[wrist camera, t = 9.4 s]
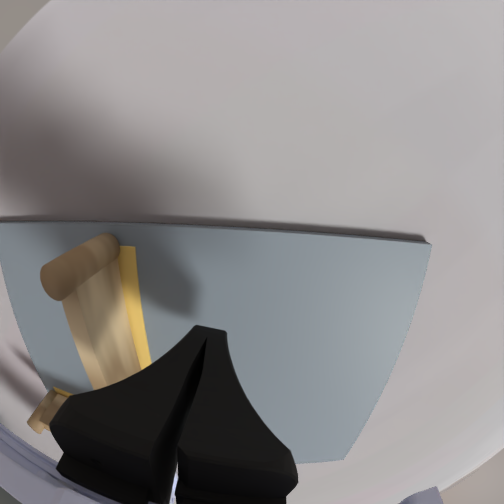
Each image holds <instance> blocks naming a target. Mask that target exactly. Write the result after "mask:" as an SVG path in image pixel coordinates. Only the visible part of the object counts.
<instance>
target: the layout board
mask: <svg viewBox="0 0 504 504" xmlns="http://www.w3.org/2000/svg"><path fill="white" fill-rule="evenodd" d="M102 233H110V234H112V235H113V236H114V237H115V238H116V239H117V240H118V242H119V246H120V253H119V256H118V264H119V271H120V277H121V283H122V289H123V294H124V300H125V305H126V310H127V314H128V319H129V324H130V328H131V332H132V336H133V340H134V344H135V348H136V352H137V356H138V359H139V363H140V367H141V370H142V369H144V368H146V367H147V366H149V365H150V364H152V363H153V362H155V361H156V360H157V359H159V358H160V357H161V356H163V355H164V354H165V353H167V352H168V351H169V350H170V349H171V348H172V347H174V346H175V345H176V344H177V343H178V342H179V341H180V340H181V339H182V338H183V337H184V336H185V335H186V334H187V333H188V332H189V331H190V330H191V329H192V327H193V326H195V325H201V326H205V327H210V328H215V329H220V330H225V331H226V332H227V341H228V348H229V352H230V356H231V360H232V363H233V366H234V369H235V372H236V375H237V377H238V380H239V382H240V384H241V386H242V388H243V390H244V392H245V394H246V396H247V398H248V400H249V401H250V403H251V405H252V406H253V408H254V409H255V411H256V412H257V413H258V415H259V416H260V418H261V419H262V420H263V422H264V423H265V424H266V425H267V427H268V428H269V429H270V430H271V431H272V432H273V434H274V435H275V436H276V437H277V438H278V439H279V440H280V441H281V442H282V443H283V444H284V445H285V446H286V447H287V448H288V449H290V450H291V453H292V455H293V458H294V461H295V464H301V463H317V462H328V461H337V460H344V458H345V457H346V455H347V454H348V452H349V451H350V449H351V448H352V446H353V444H354V443H355V441H356V439H357V438H358V436H359V434H360V433H361V431H362V429H363V428H364V426H365V424H366V422H367V421H368V419H369V417H370V415H371V413H372V411H373V409H374V408H375V406H376V404H377V402H378V400H379V398H380V396H381V394H382V392H383V390H384V387H385V385H386V383H387V381H388V379H389V377H390V374H391V372H392V370H393V368H394V365H395V363H396V361H397V358H398V356H399V353H400V351H401V348H402V346H403V343H404V340H405V338H406V335H407V332H408V330H409V327H410V324H411V321H412V318H413V315H414V312H415V309H416V306H417V302H418V299H419V296H420V292H421V289H422V285H423V281H424V278H425V274H426V270H427V266H428V261H429V257H430V252H431V248H432V244H430V243H428V242H423V241H413V240H402V239H392V238H381V237H370V236H358V235H346V234H333V233H320V232H306V231H292V230H277V229H261V228H243V227H225V226H204V225H182V224H155V223H122V222H67V221H11V222H0V262H1V267H2V272H3V276H4V280H5V284H6V288H7V292H8V295H9V299H10V302H11V305H12V308H13V312H14V315H15V318H16V321H17V324H18V326H19V329H20V332H21V334H22V337H23V340H24V342H25V345H26V347H27V350H28V352H29V354H30V357H31V359H32V361H33V363H34V365H35V368H36V370H37V372H38V374H39V376H40V378H41V380H42V382H43V384H44V386H45V388H46V390H47V391H48V392H49V391H50V390H53V391H55V392H57V393H58V394H60V395H62V396H65V397H67V398H68V397H69V396H70V395H75V394H80V393H85V392H89V391H93V390H94V389H93V387H92V384H91V382H90V380H89V378H88V375H87V373H86V371H85V368H84V366H83V363H82V361H81V358H80V356H79V353H78V350H77V348H76V345H75V342H74V339H73V337H72V334H71V331H70V328H69V325H68V321H67V318H66V315H65V312H64V308H63V305H62V301H56V300H54V299H52V298H51V297H49V296H48V294H47V293H46V292H45V290H44V289H43V287H42V284H41V280H40V270H41V268H42V266H43V265H45V264H46V263H48V262H50V261H52V260H53V259H55V258H57V257H59V256H60V255H62V254H64V253H66V252H68V251H69V250H71V249H73V248H75V247H77V246H79V245H81V244H82V243H84V242H86V241H88V240H90V239H92V238H94V237H96V236H98V235H100V234H102Z"/></svg>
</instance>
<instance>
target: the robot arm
mask: <svg viewBox="0 0 504 504" xmlns="http://www.w3.org/2000/svg"><path fill="white" fill-rule="evenodd" d="M49 428H50V431H51V433H52V435H53V437H54V438H55V440H56V442H57V443H58V445H59V446H60V448H61V449H62V451H63V452H64V453H63V455H62V457H61V459H60V461H59V463H58V462H56V461H55V460H53V459H51V458H50V457H48V456H46V455H45V454H43V453H42V452H40V451H38V450H37V449H35V448H34V447H32V446H31V445H29V444H28V443H26V442H25V441H24V440H22V439H21V438H19V437H18V436H17V435H15V434H14V433H13V432H11V431H10V430H9V429H7V428H6V427H5V426H4V425H2V424H1V423H0V486H1V487H2V488H3V489H4V490H6V491H7V492H8V493H10V494H11V495H12V496H13V497H14V498H16V499H17V500H18V501H20V502H21V503H23V504H174V500H175V496H176V503H177V504H286V496H287V495H288V494H289V493H290V492H291V491H292V490H293V489H294V488H295V487H296V485H297V484H298V473H297V469H296V465H295V461H294V458H293V455H292V453H291V450H290V449H288V448H287V447H286V446H285V445H284V444H283V443H282V442H281V441H280V440H279V439H278V438H277V437H276V436H275V435H274V434H273V432H272V431H271V430H270V429H269V428H268V427H267V425H266V424H265V423H264V422H263V420H262V419H261V418H260V416H259V415H258V413H257V412H256V411H255V409H254V408H253V406H252V405H251V403H250V401H249V400H248V398H247V396H246V394H245V392H244V390H243V388H242V386H241V384H240V382H239V380H238V377H237V375H236V372H235V369H234V366H233V363H232V360H231V356H230V352H229V348H228V341H227V332H226V331H225V330H220V329H215V328H210V327H205V326H201V325H195V326H193V327H192V329H191V330H190V331H189V332H188V333H187V334H186V335H185V336H184V337H183V338H182V339H181V340H180V341H179V342H178V343H177V344H176V345H175V346H174V347H172V348H171V349H170V350H169V351H168V352H167V353H165V354H164V355H163V356H161V357H160V358H159V359H157V360H156V361H155V362H153V363H152V364H150V365H149V366H147V367H146V368H144V369H142V370H141V371H139V372H137V373H135V374H133V375H131V376H130V377H128V378H126V379H123V380H121V381H119V382H117V383H114V384H111V385H109V386H106V387H103V388H100V389H97V390H93V391H89V392H85V393H80V394H75V395H70V396H69V397H68V398H67V399H66V401H65V402H64V403H63V404H62V405H61V407H60V408H59V409H58V411H57V412H56V414H55V415H54V417H53V418H52V420H51V421H50V423H49ZM177 463H178V476H177V474H176V467H177ZM399 504H443V501H442V499H441V496H440V493H439V490H438V488H437V487H436V486H435V487H432V488H429V489H426V490H424V491H421V492H418V493H415V494H413V495H411V496H409V497H407V498H405V499H404V500H403V501H401V502H400V503H399Z"/></svg>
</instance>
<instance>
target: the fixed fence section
mask: <svg viewBox="0 0 504 504" xmlns="http://www.w3.org/2000/svg"><path fill="white" fill-rule="evenodd" d="M66 399H67V397H65V396H62V395H60V394H58V393H57V392H55V391H53V390H50V391H49V392H48V394H47V395H46V396H45V398H44V399H43V400H42V402H41V403H40V404H39V406H38V407H37V408H36V410H35V411H34V413H33V414H32V415H31V417H30V418H29V420H28V421H27V424H28V425H29V426H30V427H31V428H32V429H33V430H34V431H35V432H37V433H39V434H41V432H42V431H43V429H44V428H45V429H46V430H48V431H50V428H49V423H50V421H51V420H52V418H53V417H54V415H55V414H56V412H57V411H58V409H59V408H60V407H61V405H62V404H63V403H64V402H65V401H66ZM50 432H51V431H50Z"/></svg>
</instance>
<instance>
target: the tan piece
mask: <svg viewBox="0 0 504 504" xmlns="http://www.w3.org/2000/svg"><path fill="white" fill-rule="evenodd" d="M119 253H120V246H119V242H118V240H117V239H116V238H115V237H114V236H113V235H112V234H110V233H102V234H100V235H98V236H96V237H94V238H92V239H90V240H88V241H86V242H84V243H82V244H81V245H79V246H77V247H75V248H73V249H71V250H69V251H68V252H66V253H64V254H62V255H60V256H59V257H57V258H55V259H53V260H52V261H50V262H48V263H46V264H45V265H43V266H42V268H41V270H40V280H41V284H42V287H43V289H44V290H45V292H46V293H47V294H48V296H49V297H51V298H52V299H54V300H56V301H62V305H63V308H64V312H65V315H66V318H67V321H68V325H69V328H70V331H71V334H72V337H73V339H74V342H75V345H76V348H77V350H78V353H79V356H80V358H81V361H82V363H83V366H84V368H85V371H86V373H87V375H88V378H89V380H90V382H91V384H92V387H93V389H94V390H97V389H100V388H103V387H106V386H109V385H111V384H114V383H117V382H119V381H121V380H123V379H126V378H128V377H130V376H131V375H133V374H135V373H137V372H139V371H141V367H140V363H139V359H138V356H137V352H136V348H135V344H134V340H133V336H132V332H131V328H130V324H129V319H128V314H127V310H126V305H125V300H124V294H123V289H122V283H121V277H120V271H119V264H118V256H119Z"/></svg>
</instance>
